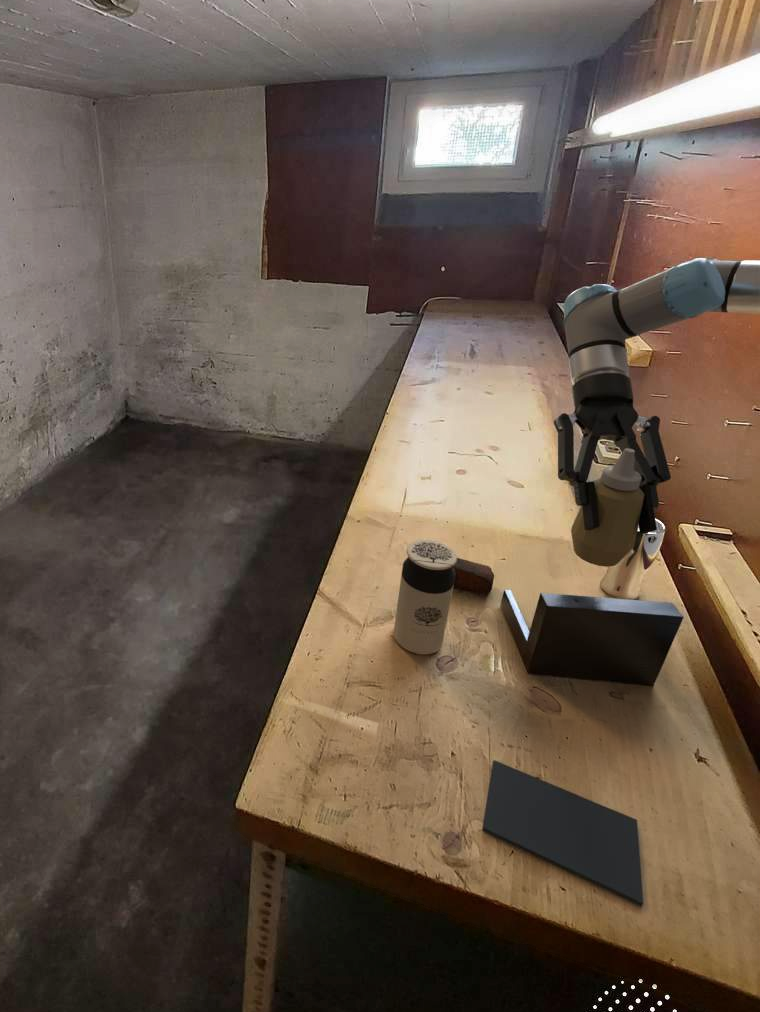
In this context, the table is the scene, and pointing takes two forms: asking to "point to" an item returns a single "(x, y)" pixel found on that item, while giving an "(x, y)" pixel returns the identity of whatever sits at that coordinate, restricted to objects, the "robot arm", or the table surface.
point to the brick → (473, 577)
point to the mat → (565, 830)
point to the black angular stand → (594, 637)
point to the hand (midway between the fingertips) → (619, 529)
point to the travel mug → (424, 596)
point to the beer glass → (633, 565)
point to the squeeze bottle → (611, 515)
